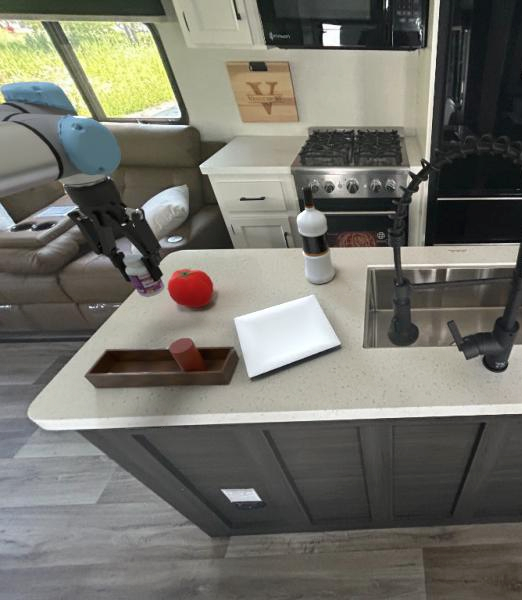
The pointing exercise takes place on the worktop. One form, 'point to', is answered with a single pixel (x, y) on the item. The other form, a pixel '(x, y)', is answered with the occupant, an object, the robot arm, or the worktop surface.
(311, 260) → the vodka
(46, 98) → the robot arm
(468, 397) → the worktop surface
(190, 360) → the spice tin
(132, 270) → the pill bottle
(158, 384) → the wooden tray
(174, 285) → the tomato
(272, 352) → the plate
